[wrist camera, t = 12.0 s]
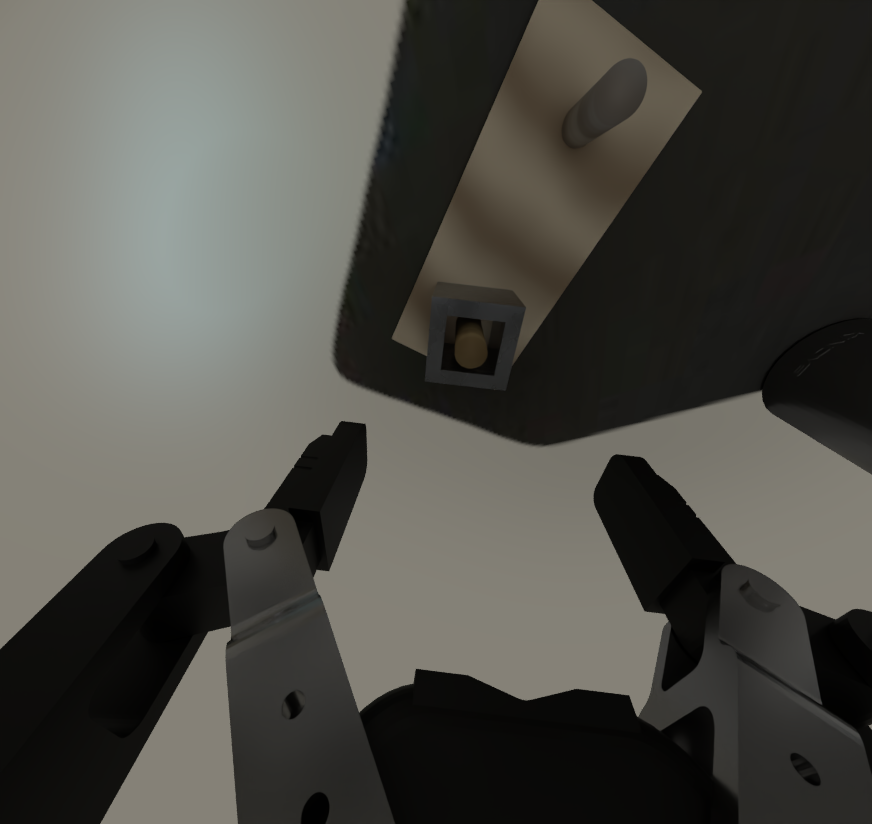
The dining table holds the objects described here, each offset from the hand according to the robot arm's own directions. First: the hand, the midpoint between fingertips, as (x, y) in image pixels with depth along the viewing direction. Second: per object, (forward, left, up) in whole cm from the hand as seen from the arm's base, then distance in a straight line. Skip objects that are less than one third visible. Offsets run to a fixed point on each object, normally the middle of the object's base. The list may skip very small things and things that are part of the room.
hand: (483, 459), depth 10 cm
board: (+1, -6, -18) cm, 19 cm away
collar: (0, 0, -17) cm, 17 cm away
